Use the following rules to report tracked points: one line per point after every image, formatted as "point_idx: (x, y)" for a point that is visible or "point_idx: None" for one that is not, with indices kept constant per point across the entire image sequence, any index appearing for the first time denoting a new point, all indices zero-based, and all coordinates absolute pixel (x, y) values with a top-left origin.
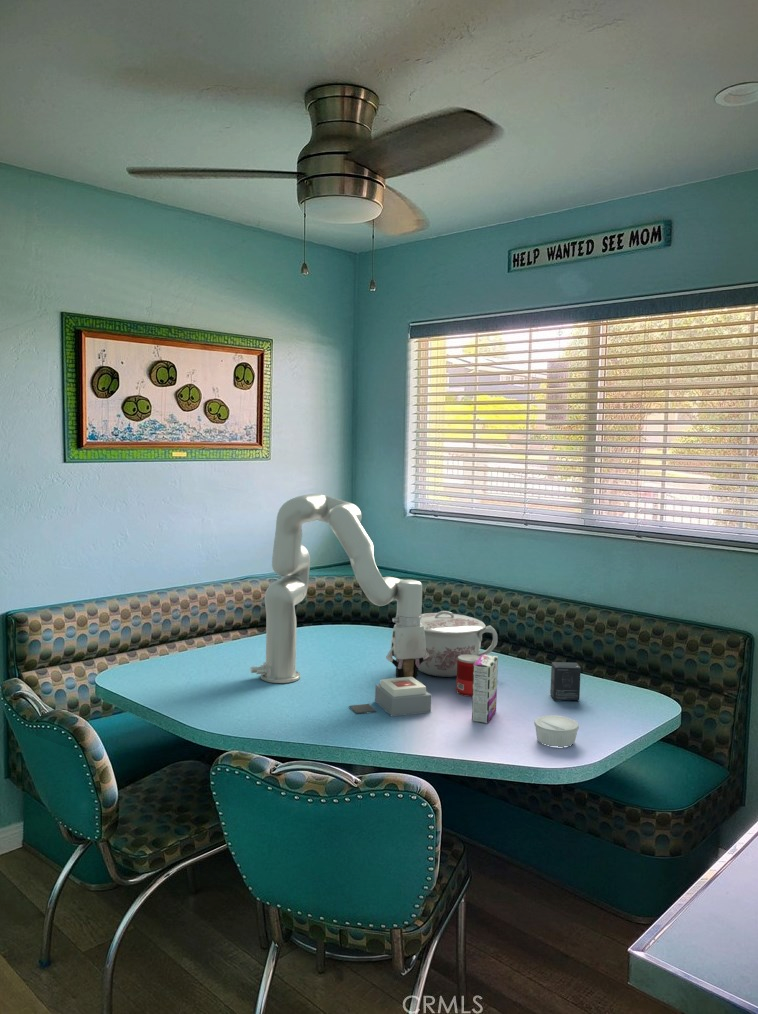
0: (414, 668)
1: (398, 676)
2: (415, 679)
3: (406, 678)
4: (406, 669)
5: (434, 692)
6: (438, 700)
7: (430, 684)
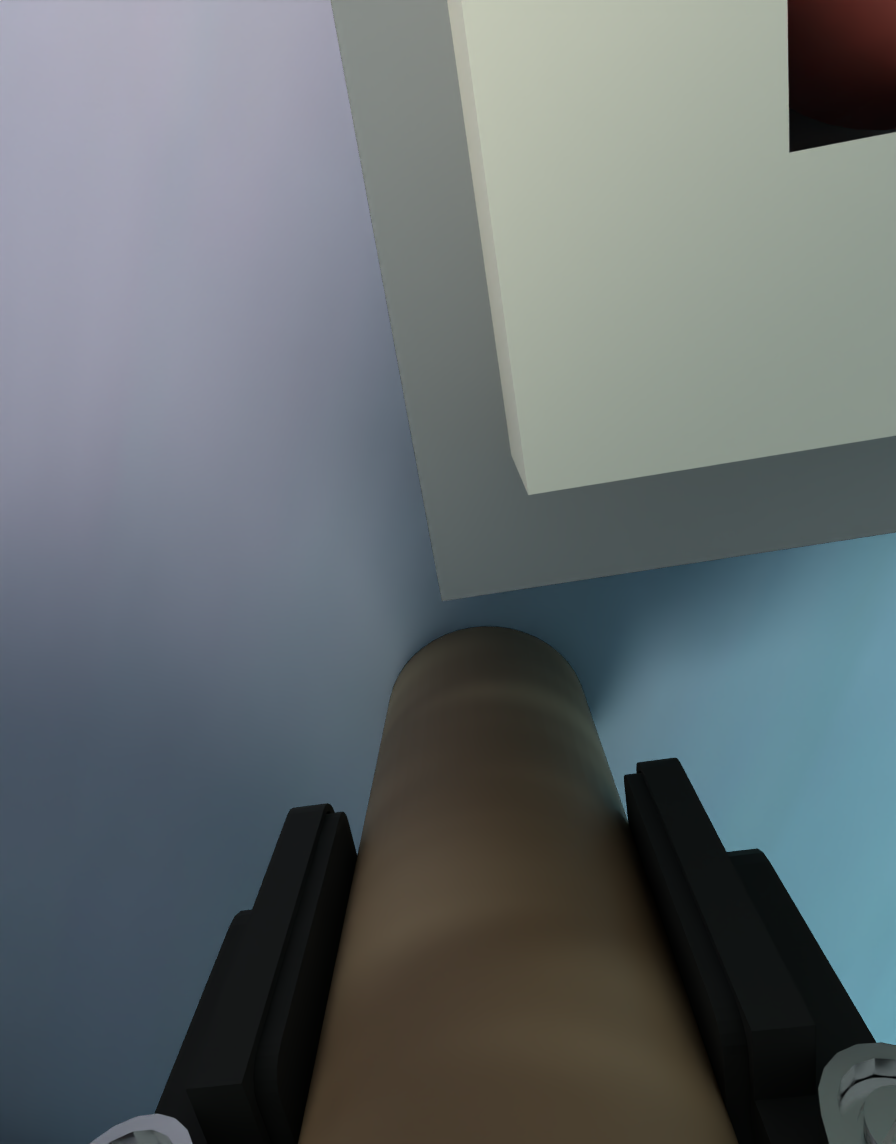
0: (283, 1079)
1: (755, 870)
2: (494, 43)
3: (843, 254)
4: (602, 1008)
5: (51, 692)
6: (21, 307)
7: (73, 981)
